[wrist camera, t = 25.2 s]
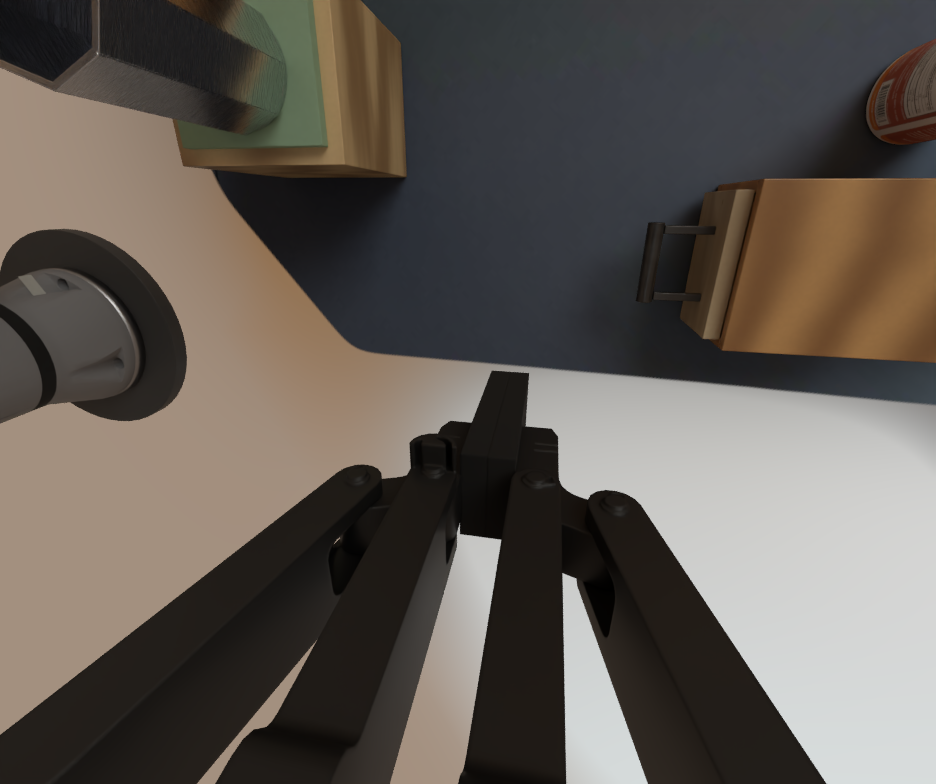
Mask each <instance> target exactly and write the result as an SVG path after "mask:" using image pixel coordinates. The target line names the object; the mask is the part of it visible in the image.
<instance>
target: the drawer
mask: <svg viewBox="0 0 936 784" xmlns="http://www.w3.org/2000/svg"><path fill="white" fill-rule="evenodd" d="M754 194H755V190H727V191H717V192H706V193H705V195H704V200H703V205H702V210H701V215H700V220H699V225H698V226H675V225H665V223H662V222H649V223H648V228H647V234H646V240H645V247H644V253H643V259H642V266H641V272H640V278H639V285H638V291H637V297H636V301H637V302H642V303H650V302H652V299H653V300H671V301H683V304H682V309H681V314H680V319H681V320H682V321H683V322H685V323H686V324H687V325H688V326H689V327H690V328H691V329H692V330H694V331H695V332H696V333H697V334H698V335H699V336H700V337H701V338H703V339H717V340H718V339H719V338H720V334H721V330H722V326H723V321H725V319H726V315H727V310H728V306H729V302H730V298H731V294H732V290H733V286H734V282H735V278H736V274H737V269H738V265H739V261H740V257H741V253H742V249H743V245H744V241H745V237H746V233H747V228H748V224H749V220H750V216H751V212H752V208H753V204H754V202H753V198H754ZM663 234H694V235H696V240H695V245H694V249H693V254H692V259H691V264H690V269H689V274H688V279H687V284H686V289H685V292H659V291H654V285H655V279H656V273H657V268H658V262H659V256H660V250H661V245H662V239H663Z"/></svg>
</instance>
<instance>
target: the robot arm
mask: <svg viewBox="0 0 936 784" xmlns="http://www.w3.org/2000/svg"><path fill="white" fill-rule="evenodd" d="M145 360H146V354H145V346H144V341H143V338H142V334H141V332H140V329H139V327H138V325H137V322H136V321H135V319H134V317H133V315H132V314H131V312H130V310H129V309H128V308H127V306H126V305H125V304H124V302H123V301H122V300H121V299H120V298H119V297H118V296H117V295H116V293H115V292H113V291H112V290H111V289H110V288H109V287H108V286H107V285H105V284H104V283H103V282H101V281H100V280H98V279H97V278H95V277H93V276H92V275H90V274H88V273H86V272H83V271H81V270H77V269H74V268H68V267H55V268H47V269H41V270H37V271H34V272H30V273H28V274H25V275H23V276H18V278H17V279H15V280H13V281H11V282H9V283H7V284H5V285H3V286H1V287H0V423H3V422H5V421H7V420H10V419H13V418H15V417H18V416H20V415H23V414H25V413H28V412H30V411H32V410H35V409H38V408H40V407H43V406H46V405H48V404H57V403H67V402H77V401H87V400H96V399H104V398H108V397H112V396H115V395H118V394H120V393H122V392H125V391H127V390H129V389H131V388H132V387H133V386H135V385H136V384H137V383H138V381H139V380H140V378H141V376H142V374H143V371H144V368H145ZM528 380H529V373H518V372H504V371H492V372H491V374H490V377H489V379H488V382H487V385H486V387H485V390H484V393H483V395H482V398H481V401H480V403H479V406H478V408H477V411H476V413H475V417H474V419H473V421H472V423H467V422H456V421H450V422H448V423H447V424H445V425H444V426H442V427H441V429H440V431H439V433H438V434H425V435H421V436H418V437H416V438H414V439H413V440H412V441H411V442H410V459H411V460H410V461H411V469H410V471H409V473H408V474H407V475H406V476H403V477H397V478H387V479H382V476H381V472H380V471H379V470H378V469H377V468H375V467H373V466H369V465H354V466H350V467H347V468H344V469H343V470H341V471H339V472H338V473H336V474H335V475H334V476H332V477H331V478H330V479H329V480H327V481H326V482H325V483H323V484H322V485H321V486H320V487H318V488H317V489H316V490H314V491H313V492H312V493H311V494H309V495H308V496H307V497H306V498H304V499H303V500H302V501H300V502H299V503H298V504H296V505H295V506H294V507H293V508H291V509H290V510H289V511H287V512H286V513H285V514H284V515H282V516H281V517H280V518H278V519H277V520H276V521H275V522H274V523H272V524H271V525H269V526H268V527H267V528H266V529H264V530H263V531H262V532H260V533H259V534H258V535H257V536H256V537H254V538H253V539H251V540H250V541H249V542H248V543H246V544H245V545H244V546H242V547H241V548H240V549H239V550H237V551H236V552H235V553H233V554H232V555H231V556H230V557H228V558H227V559H226V560H224V561H223V562H222V563H221V564H219V565H218V566H217V567H215V568H214V569H213V570H212V571H210V572H209V573H208V574H207V575H205V576H204V577H203V578H201V579H200V580H199V581H198V582H196V583H195V584H194V585H192V586H191V587H190V588H188V589H187V590H186V591H185V592H183V593H182V594H181V595H179V596H178V597H177V598H176V599H174V600H173V601H172V602H170V603H169V604H168V605H167V606H165V607H164V608H163V609H162V610H160V611H159V612H158V613H156V614H155V615H154V616H152V617H151V618H150V619H149V620H148V621H146V622H145V623H143V624H142V625H141V626H140V627H138V628H137V629H136V630H134V631H133V632H132V633H131V634H130V635H128V636H127V637H125V638H124V639H123V640H122V641H120V642H119V643H118V644H116V645H115V646H114V647H113V648H112V649H110V650H109V651H108V652H106V653H105V654H104V655H102V656H101V657H100V658H99V659H97V660H96V661H95V662H94V663H92V664H91V665H89V666H88V667H87V668H86V669H84V670H83V671H82V672H80V673H79V674H78V675H77V676H75V677H74V678H73V679H71V680H70V681H69V682H68V683H66V684H65V685H64V686H63V687H61V688H60V689H59V690H57V691H56V692H55V693H53V694H52V695H51V696H50V697H48V698H47V699H46V700H44V701H43V702H42V703H41V704H39V705H38V706H37V707H35V708H34V709H33V710H32V711H30V712H29V713H28V714H27V715H25V716H24V717H23V718H22V719H20V720H19V721H18V722H16V723H15V724H14V725H12V726H11V727H10V728H9V729H7V730H6V731H5V732H3V733H2V734H1V735H0V784H197V783H198V782H199V780H200V779H201V778H202V777H203V776H204V774H205V773H206V772H207V771H208V769H209V768H210V767H211V766H212V765H213V764H214V762H215V761H216V760H217V759H218V758H219V756H220V755H221V754H222V753H223V752H224V750H225V749H226V748H227V747H228V746H229V744H230V743H231V742H232V741H233V740H234V738H235V737H236V736H237V735H238V734H239V732H240V731H241V730H242V729H243V728H244V726H245V725H246V724H247V723H248V722H249V720H250V719H251V718H252V717H253V716H254V714H255V713H256V712H257V711H258V710H259V709H260V707H261V706H262V705H263V704H264V703H265V701H266V700H267V699H268V698H269V697H270V695H271V694H272V693H273V692H274V691H275V689H276V688H277V687H278V686H279V685H280V683H281V682H282V681H283V680H284V678H285V677H286V676H287V675H288V674H289V673H290V671H291V670H292V669H293V668H294V667H295V665H296V664H297V663H298V661H300V659H301V658H302V657H303V656H304V655H305V653H306V652H307V651H308V650H309V649H310V647H311V646H312V645H313V644H314V643H315V641H316V640H317V639H318V640H317V641H316V643H315V645H314V647H313V649H312V651H311V653H310V654H309V656H308V658H307V660H306V662H305V663H304V665H303V667H302V669H301V671H300V673H299V674H298V676H297V678H296V680H295V682H294V684H293V685H292V688H291V689H290V691H289V693H288V695H287V697H286V698H285V700H284V702H283V704H282V706H281V708H280V709H279V711H278V713H277V715H276V716H275V718H274V719H273V721H272V722H271V723H270V724H269V725H268V726H267V727H265V728H260V729H255V730H253V731H252V732H251V733H249V735H247V736H246V737H245V738H244V739H243V740H242V742H241V743H240V744H239V746H238V747H237V749H236V750H235V752H234V753H233V755H232V756H231V758H230V760H229V761H228V763H227V765H226V766H225V768H224V770H223V771H222V773H221V775H220V777H219V778H218V780H217V782H216V783H215V784H390V781H391V777H392V774H393V770H394V767H395V763H396V760H397V756H398V752H399V749H400V745H401V742H402V738H403V735H404V731H405V728H406V724H407V721H408V717H409V714H410V710H411V707H412V703H413V700H414V696H415V692H416V689H417V685H418V682H419V678H420V675H421V671H422V668H423V664H424V661H425V657H426V653H427V650H428V647H429V643H430V640H431V636H432V633H433V629H434V625H435V622H436V618H437V615H438V611H439V608H440V604H441V600H442V597H443V594H444V590H445V587H446V583H447V580H448V576H449V572H450V569H451V565H452V562H453V558H454V554H455V551H456V548H457V530H458V527H459V523H460V534H464V535H472V536H479V537H486V538H494V539H501V546H500V552H499V559H498V564H497V571H496V578H495V583H494V589H493V595H492V601H491V607H490V614H489V620H488V626H487V632H486V638H485V644H484V650H483V657H482V663H481V669H480V675H479V681H478V687H477V694H476V700H475V706H474V712H473V718H472V724H471V731H470V736H469V743H468V749H467V755H466V760H465V765H464V769H463V772H462V773H461V775H460V778H459V783H458V784H566V753H565V696H564V643H563V585H562V573H564V574H567V575H569V576H571V577H574V578H576V579H577V586H578V589H579V591H580V595H581V597H582V600H583V603H584V606H585V609H586V612H587V614H588V617H589V620H590V622H591V625H592V628H593V631H594V634H595V637H596V639H597V642H598V645H599V648H600V650H601V654H602V656H603V659H604V662H605V664H606V668H607V670H608V673H609V676H610V678H611V681H612V684H613V687H614V690H615V693H616V696H617V698H618V701H619V704H620V707H621V709H622V712H623V715H624V718H625V721H626V724H627V726H628V729H629V732H630V735H631V737H632V740H633V743H634V746H635V749H636V751H637V754H638V757H639V760H640V763H641V766H642V768H643V771H644V774H645V776H646V779H647V782H648V784H826V783H825V781H824V779H823V778H822V777H821V775H820V774H819V772H818V770H817V769H816V768H815V766H814V764H813V763H812V761H811V760H810V758H809V757H808V756H807V754H806V752H805V751H804V749H803V748H802V746H801V745H800V743H799V742H798V740H797V739H796V737H795V736H794V734H793V733H792V731H791V730H790V729H789V727H788V726H787V724H786V722H785V721H784V719H783V718H782V716H781V715H780V714H779V712H778V711H777V709H776V707H775V706H774V704H773V703H772V702H771V700H770V699H769V697H768V695H767V694H766V692H765V691H764V689H763V688H762V686H761V685H760V684H759V682H758V680H757V679H756V678H755V676H754V674H753V673H752V671H751V670H750V668H749V667H748V665H747V664H746V662H745V661H744V659H743V658H742V657H741V655H740V653H739V652H738V650H737V649H736V647H735V646H734V644H733V643H732V641H731V640H730V638H729V637H728V636H727V634H726V632H725V631H724V629H723V628H722V626H721V625H720V623H719V622H718V620H717V619H716V617H715V616H714V614H713V613H712V611H711V610H710V608H709V607H708V605H707V604H706V602H705V601H704V599H703V598H702V596H701V595H700V593H699V592H698V591H697V589H696V587H695V586H694V584H693V583H692V581H691V580H690V578H689V577H688V575H687V574H686V573H685V571H684V569H683V568H682V566H681V565H680V563H679V562H678V561H677V559H676V557H675V556H674V555H673V553H672V551H671V550H670V548H669V547H668V546H667V544H666V542H665V541H664V539H663V538H662V536H661V535H660V533H659V532H658V530H657V529H656V527H655V526H654V524H653V523H652V521H651V520H650V518H649V517H648V515H647V514H646V512H645V511H644V509H643V508H642V506H641V505H640V504H639V503H638V502H637V501H636V500H635V499H633V498H632V497H630V496H628V495H626V494H624V493H620V492H617V491H609V490H604V491H598V492H595V493H594V494H592V495H590V497H589V499H588V500H587V499H583V498H581V497H578V496H576V495H573V494H571V493H570V492H568V491H567V490H565V489H564V488H563V487H562V486H561V484H560V481H559V474H558V436H557V435H556V434H555V432H554V431H553V430H552V429H548V428H536V427H525V426H526V410H527V395H528ZM339 537H340V539H339V540H338V541H337V542H336V543H335V541H336V540H337V539H338V538H339ZM334 543H335V544H334Z"/></svg>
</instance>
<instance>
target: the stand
mask: <svg viewBox="0 0 936 784" xmlns="http://www.w3.org/2000/svg"><path fill="white" fill-rule="evenodd" d="M313 7H314V17H315V26H316V36H317V45H318V55H319V64H320V74H321V83H322V93H323V102H324V112H325V121H326V131H327V140H328V147H312V148H252V149H186V148H183V145H182V141H181V136H180V132H179V127H178V123H177V120H176V119H173V123H174V128H175V132H176V137H177V141H178V146H179V150H180V155H181V159H182V163H183V166H187V167H195V168H204V169H213V170H222V171H231V172H240V173H249V174H258V175H267V176H276V177H285V178H350V177H407V175H406V152H405V130H404V107H403V84H402V62H401V43H400V42H399V41H398V40H397V39H396V38H395V36H394V35H393V34H392V33H391V32H390V31H389V30H388V29H387V28H386V27H385V26H384V25H383V24H382V23H381V22H380V20H379V19H378V18H377V17H376V16H375V15H374V14H373V13H372V12H371V11H370V10H369V9H368V8H367V7H366V6H365V4H364V3H363V2H362V1H361V0H313Z"/></svg>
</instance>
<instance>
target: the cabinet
mask: <svg viewBox="0 0 936 784" xmlns="http://www.w3.org/2000/svg"><path fill="white" fill-rule="evenodd" d="M727 190H755V194H754V198H753V202H754V204H753V208H752V212H751V216H750V220H749V224H748V228H747V233H746V237H745V241H744V245H743V249H742V253H741V257H740V261H739V265H738V269H737V274H736V278H735V282H734V286H733V290H732V294H731V298H730V302H729V306H728V310H727V315H726V319H725V321H723V326H722V330H721V334H720V338H719V339H718V340H717V339H709V340H710V341H711V342H712V343H714V344H715V345H716V346H717V347H718V348H720V349H721V350H722V351H738V352H756V353H773V354H791V355H808V356H826V357H843V358H861V359H879V360H896V361H914V362H931V363H936V178H856V179H760V180H752V181H745V182H738V183H730V184H723V185H719V187H718V191H727Z"/></svg>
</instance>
